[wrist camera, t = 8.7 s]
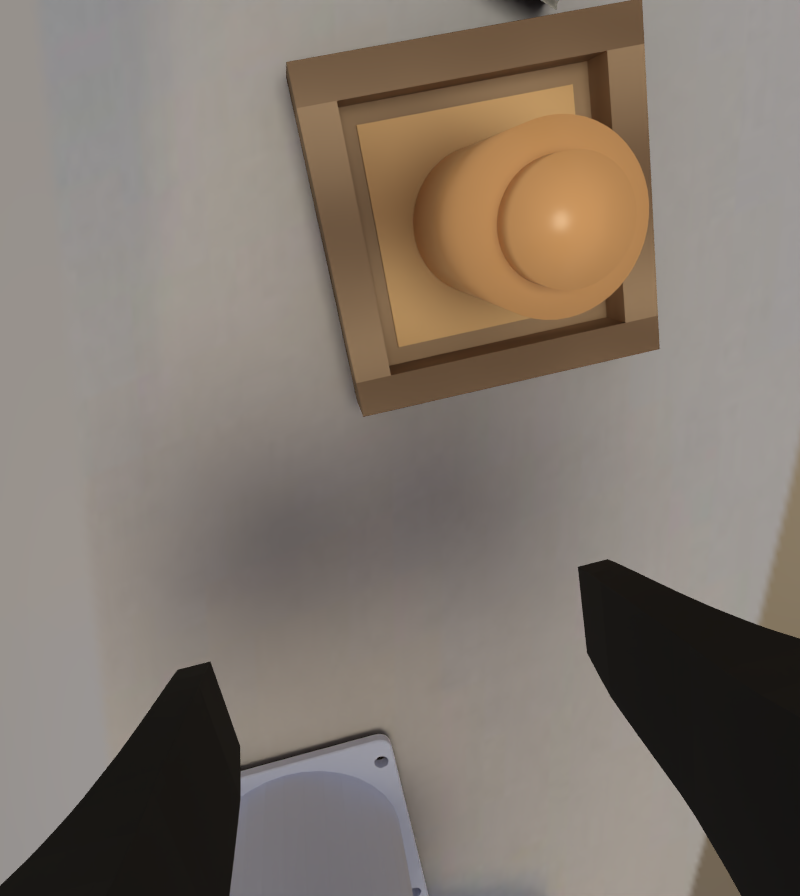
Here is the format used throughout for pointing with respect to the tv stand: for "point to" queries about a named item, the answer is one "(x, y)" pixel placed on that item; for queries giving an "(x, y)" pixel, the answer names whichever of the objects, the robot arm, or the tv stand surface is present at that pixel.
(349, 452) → the tv stand surface
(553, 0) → the wooden post with brackets
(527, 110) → the tray
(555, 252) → the wooden dowel peg
